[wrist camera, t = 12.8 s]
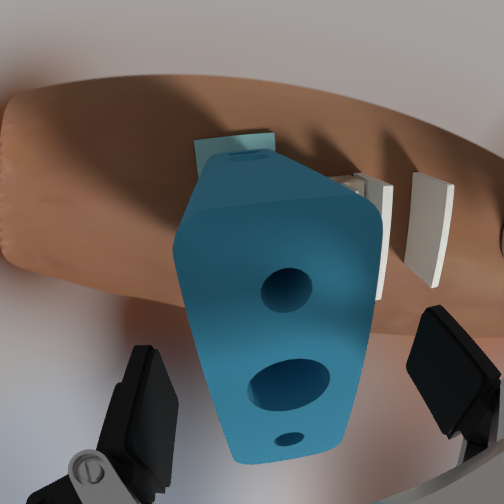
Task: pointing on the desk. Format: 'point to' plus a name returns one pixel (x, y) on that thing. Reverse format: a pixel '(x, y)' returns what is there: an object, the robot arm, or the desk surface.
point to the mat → (231, 146)
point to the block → (278, 299)
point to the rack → (415, 224)
